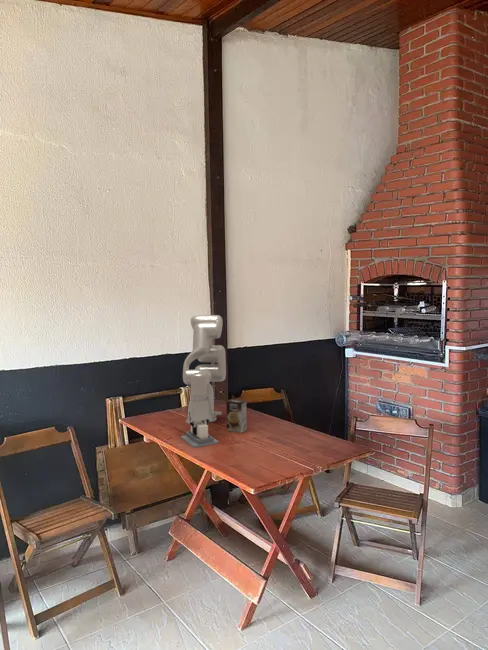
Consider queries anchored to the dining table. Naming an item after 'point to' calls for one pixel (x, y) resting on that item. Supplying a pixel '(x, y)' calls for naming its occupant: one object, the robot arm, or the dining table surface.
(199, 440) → the cradle
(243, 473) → the dining table surface
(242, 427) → the coffee box
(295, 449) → the dining table surface
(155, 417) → the dining table surface
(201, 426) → the long beige rectangular prism
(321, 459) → the dining table surface
